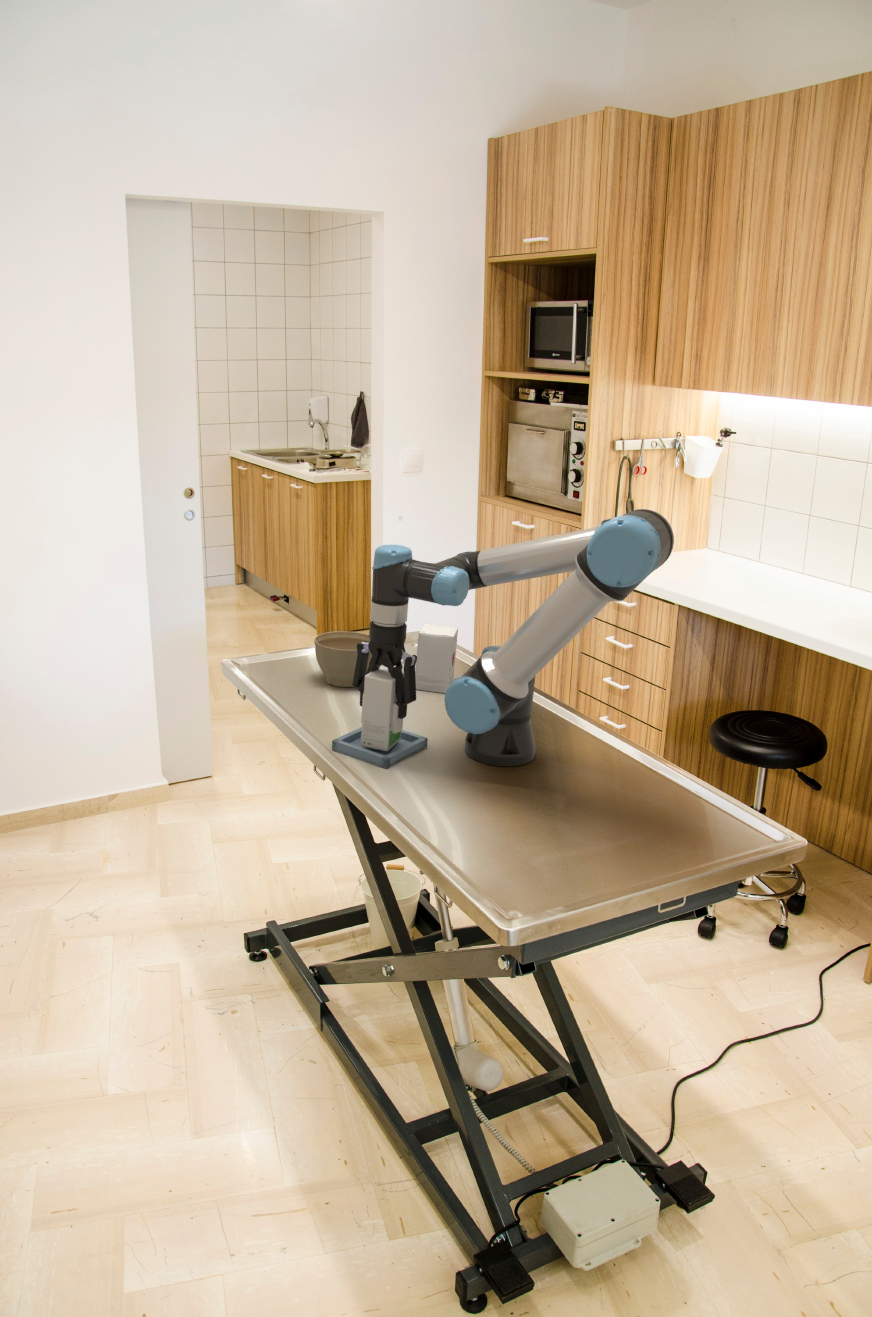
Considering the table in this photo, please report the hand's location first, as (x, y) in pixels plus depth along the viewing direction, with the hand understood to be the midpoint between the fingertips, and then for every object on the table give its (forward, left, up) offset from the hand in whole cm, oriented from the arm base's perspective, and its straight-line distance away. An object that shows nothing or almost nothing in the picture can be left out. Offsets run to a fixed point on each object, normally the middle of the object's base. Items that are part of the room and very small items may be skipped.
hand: (381, 726), depth 207 cm
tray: (0, 0, -5) cm, 5 cm away
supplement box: (+13, -41, -5) cm, 43 cm away
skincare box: (0, 0, -4) cm, 4 cm away
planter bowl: (+31, -28, -5) cm, 42 cm away
